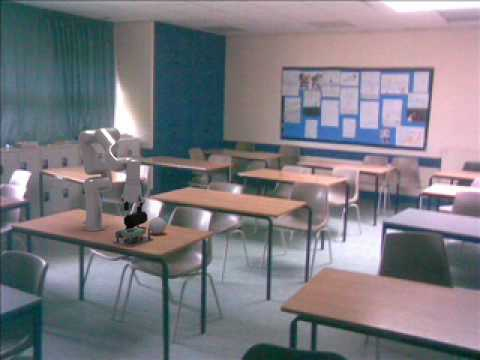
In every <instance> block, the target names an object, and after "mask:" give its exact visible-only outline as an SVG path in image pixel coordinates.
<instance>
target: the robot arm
mask: <svg viewBox="0 0 480 360" xmlns="http://www.w3.org/2000/svg"><path fill="white" fill-rule="evenodd" d="M120 138H121V133H120V131H119V129H118V128H116V127H99V128H97V129H86V130H82V131H80V133H79V134H78V141H77V142H78V145H79V149H80V150H81V156H82V163H83V170H84V173H85V174H86V175H87V176H88V175H89V176H91V177H88V178H86V179H85V180H84V181H83V189H84V195H85V219H84V221H83V222H82V224H83V225H85V226H83V230H85V231H86V232H99V231H103V230H105V229H106V226H105V225H103V199H102V197H101V195H100V194H99V193H105V192H110V191H111V190H112V189H113V183H114V182H113V176H112V175H113V173H112V171H113V172H123V171H125V183H124V187H123V193H122V194H120V197H121V201H122V203H123V211H125V212H126V211H129V210H130V203H132V204H136V205H137V206H136V212H137V214H139V213H142V211H143V210H142V208H143V206H144V204H145V203H146V199H145V197H143V196H142V195H143V193H142V186H141V185H142V184H141V160H139V159H137V158H133V157H132V156H121V157H116V156H114V154H115V153H116V152H117V151H118V150H119V149H120V143H119V142H118V141H119V140H120ZM96 144H98V145H99V144H100V146H101V147H102V148H103V149H104V158H99V157H98V152H97V149H96V148H95V147H94V146H93V145H96ZM95 175H100V176H95Z"/></svg>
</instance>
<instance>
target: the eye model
mask: <svg viewBox="0 0 480 360" xmlns="http://www.w3.org/2000/svg"><path fill="white" fill-rule="evenodd" d="M166 223H167V222H166V220H164V218H162V217H158V216H155V217H152V218H151V219H150V221H149V223H148V228H150V233H152V234H154V235H161V234H163V233H164V231H165V230H166V227H167V224H166Z"/></svg>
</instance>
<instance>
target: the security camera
mask: <svg viewBox="0 0 480 360" xmlns="http://www.w3.org/2000/svg"><path fill="white" fill-rule="evenodd" d="M146 222H148V214H147V212H146V211H143V210H142V213H139V214H137V211H136V212H133V213H130V214H126V215H125V216H124V217H123V225H124V226H125V228H124V230H125V229H132V228H134V227H135V226H136V225H137V228H140V227H139V225H143V224H145V223H146Z"/></svg>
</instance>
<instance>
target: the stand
mask: <svg viewBox="0 0 480 360" xmlns="http://www.w3.org/2000/svg"><path fill="white" fill-rule="evenodd" d="M125 230H128V229H125V228H124V229H123V230H118V231H119V239H124V236H121V232H122V231H125ZM115 238H117V231H115Z"/></svg>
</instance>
